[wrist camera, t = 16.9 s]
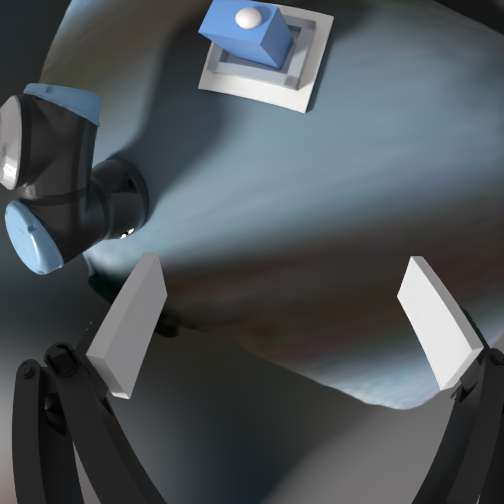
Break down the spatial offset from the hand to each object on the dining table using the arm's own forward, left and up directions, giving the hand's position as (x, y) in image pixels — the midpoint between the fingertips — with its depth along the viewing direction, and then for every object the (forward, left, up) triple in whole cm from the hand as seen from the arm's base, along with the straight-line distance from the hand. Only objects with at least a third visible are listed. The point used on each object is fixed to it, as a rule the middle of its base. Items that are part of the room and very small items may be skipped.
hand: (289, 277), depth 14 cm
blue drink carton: (-12, +17, -26) cm, 34 cm away
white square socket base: (-12, +17, -27) cm, 34 cm away
